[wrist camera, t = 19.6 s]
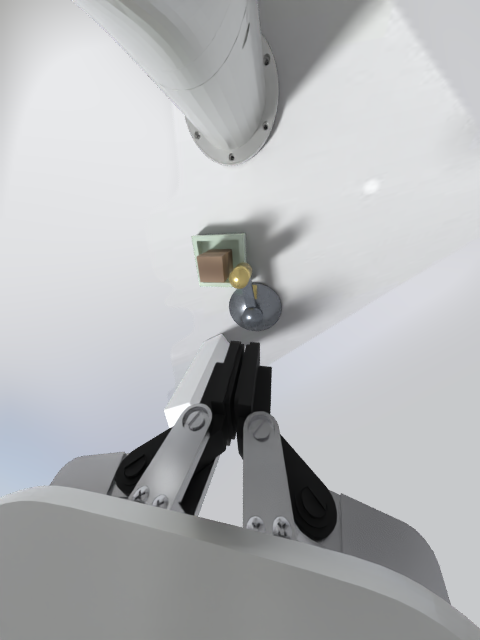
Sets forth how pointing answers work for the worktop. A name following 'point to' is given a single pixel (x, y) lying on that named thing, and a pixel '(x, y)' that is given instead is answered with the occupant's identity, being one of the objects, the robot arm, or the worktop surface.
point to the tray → (220, 242)
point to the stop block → (215, 265)
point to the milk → (196, 377)
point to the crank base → (264, 304)
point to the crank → (246, 294)
